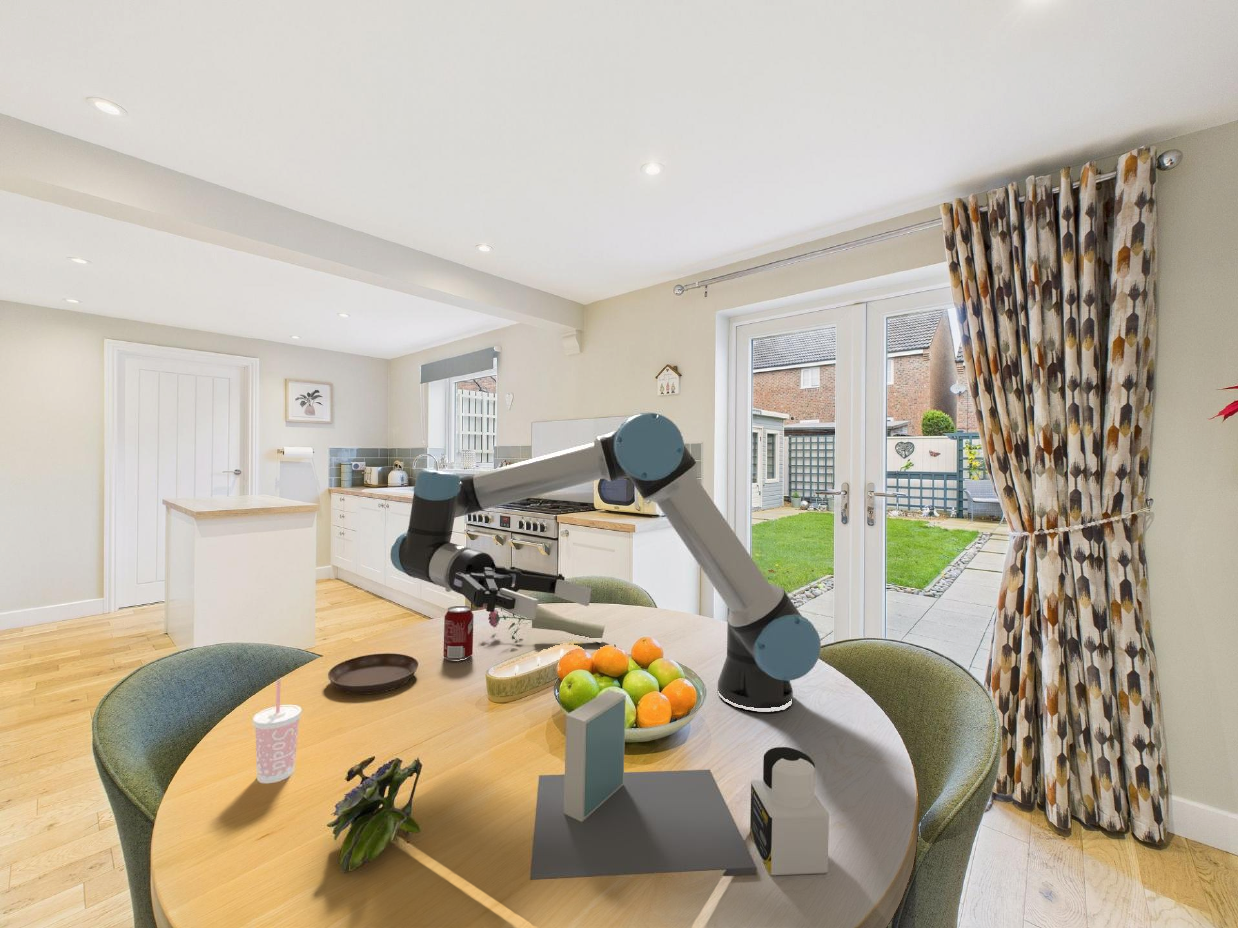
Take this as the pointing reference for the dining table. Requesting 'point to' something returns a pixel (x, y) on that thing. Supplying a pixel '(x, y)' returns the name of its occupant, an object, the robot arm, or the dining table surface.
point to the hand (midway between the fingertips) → (564, 603)
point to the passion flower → (373, 811)
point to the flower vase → (553, 623)
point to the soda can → (458, 633)
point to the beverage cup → (276, 740)
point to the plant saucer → (373, 673)
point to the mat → (639, 829)
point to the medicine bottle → (789, 815)
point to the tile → (594, 753)
